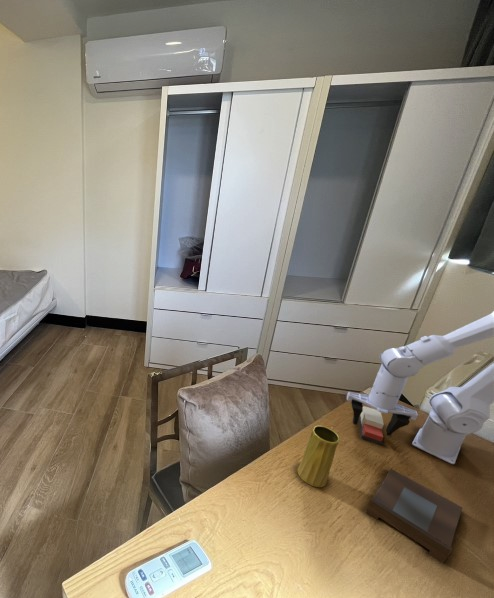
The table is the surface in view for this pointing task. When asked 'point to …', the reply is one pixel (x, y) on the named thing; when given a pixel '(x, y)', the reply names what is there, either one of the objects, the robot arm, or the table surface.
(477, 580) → the table surface
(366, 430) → the two-tone white red block
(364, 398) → the robot arm
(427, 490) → the dark brown slab
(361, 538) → the table surface
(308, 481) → the vase
